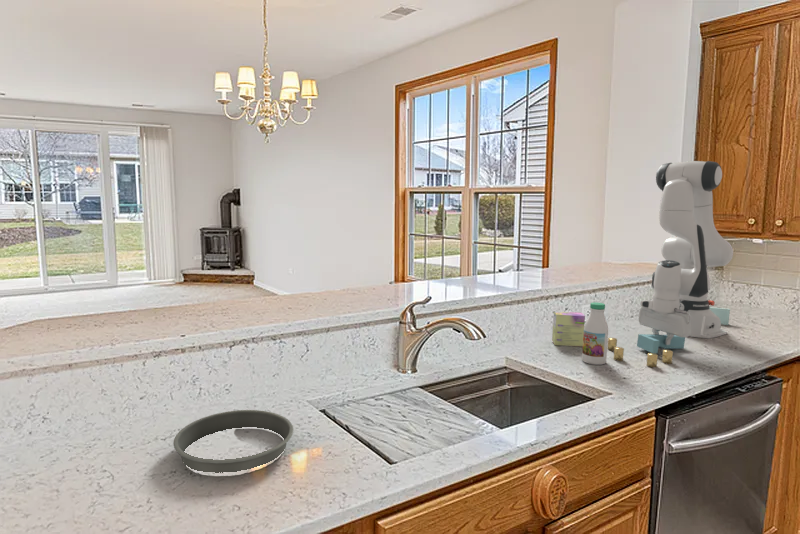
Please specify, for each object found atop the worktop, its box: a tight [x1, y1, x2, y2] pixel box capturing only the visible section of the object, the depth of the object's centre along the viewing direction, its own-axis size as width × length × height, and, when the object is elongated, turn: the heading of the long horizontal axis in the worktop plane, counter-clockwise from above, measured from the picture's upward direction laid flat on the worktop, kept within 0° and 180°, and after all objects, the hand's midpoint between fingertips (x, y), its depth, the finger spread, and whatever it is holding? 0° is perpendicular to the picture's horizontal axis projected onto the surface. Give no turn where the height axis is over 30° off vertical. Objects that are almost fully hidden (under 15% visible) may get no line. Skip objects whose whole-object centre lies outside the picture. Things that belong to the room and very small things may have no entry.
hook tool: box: [636, 333, 686, 353], centre depth 190 cm, size 18×8×4 cm, turn 103°
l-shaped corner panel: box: [710, 306, 731, 326], centre depth 237 cm, size 12×12×8 cm
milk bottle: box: [581, 301, 609, 366], centre depth 176 cm, size 8×8×20 cm
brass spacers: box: [607, 337, 674, 369], centre depth 183 cm, size 16×22×4 cm
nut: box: [655, 346, 665, 356], centre depth 187 cm, size 4×4×2 cm
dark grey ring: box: [173, 409, 294, 473], centre depth 114 cm, size 25×25×4 cm
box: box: [551, 311, 586, 348], centre depth 197 cm, size 10×6×12 cm, turn 84°
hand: (662, 342), depth 193 cm, fingers closed on hook tool, 3 cm apart
